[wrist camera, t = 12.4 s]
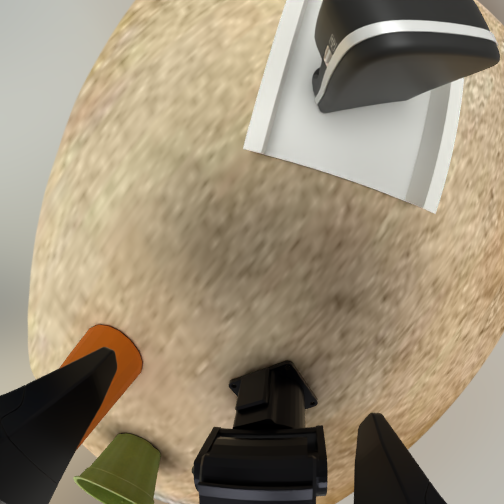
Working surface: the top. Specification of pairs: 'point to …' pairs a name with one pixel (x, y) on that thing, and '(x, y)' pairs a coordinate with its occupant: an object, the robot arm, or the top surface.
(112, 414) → the top surface
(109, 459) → the plant pot
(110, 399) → the spray bottle
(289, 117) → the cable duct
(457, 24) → the battery charger
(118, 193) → the top surface
